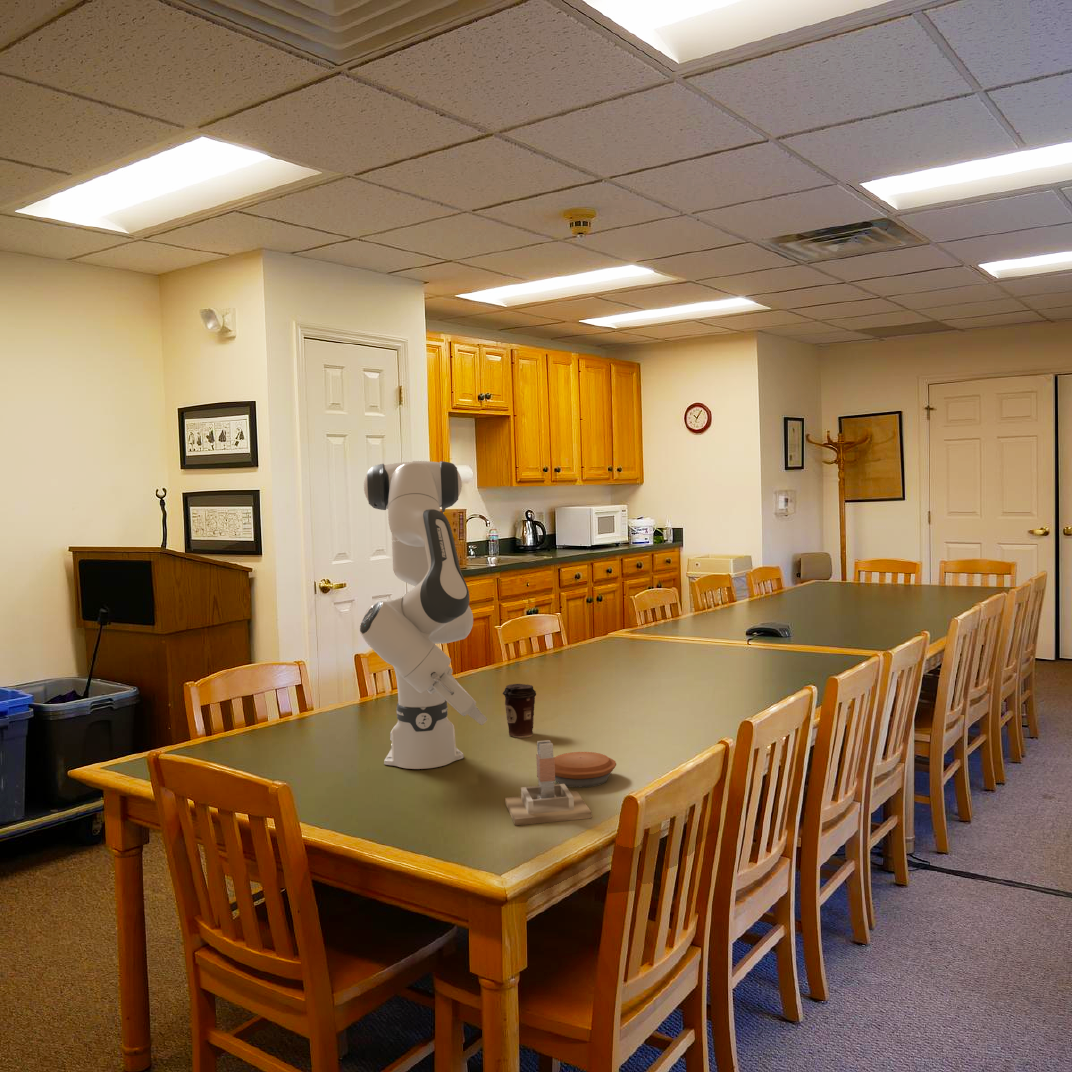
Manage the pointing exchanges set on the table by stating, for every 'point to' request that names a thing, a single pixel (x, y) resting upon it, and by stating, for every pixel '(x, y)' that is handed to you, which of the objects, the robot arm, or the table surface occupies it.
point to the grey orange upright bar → (545, 769)
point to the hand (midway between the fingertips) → (480, 717)
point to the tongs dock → (546, 806)
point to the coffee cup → (520, 709)
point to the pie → (583, 769)
